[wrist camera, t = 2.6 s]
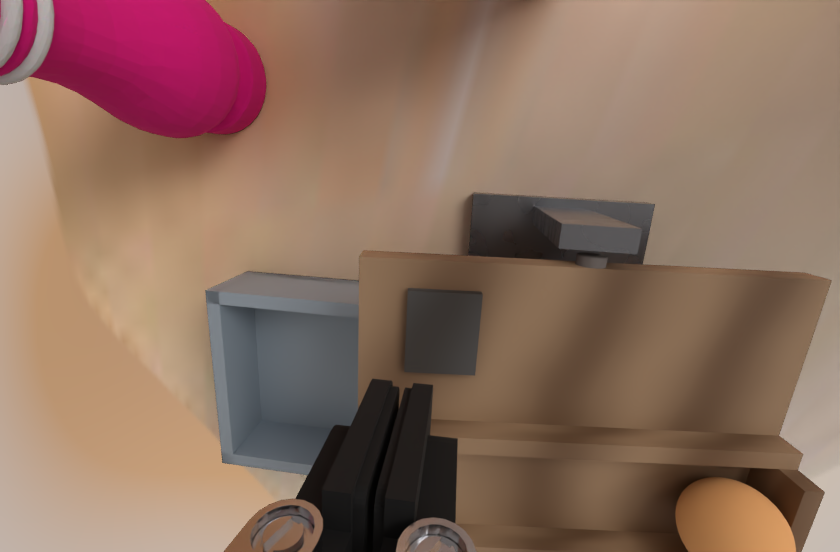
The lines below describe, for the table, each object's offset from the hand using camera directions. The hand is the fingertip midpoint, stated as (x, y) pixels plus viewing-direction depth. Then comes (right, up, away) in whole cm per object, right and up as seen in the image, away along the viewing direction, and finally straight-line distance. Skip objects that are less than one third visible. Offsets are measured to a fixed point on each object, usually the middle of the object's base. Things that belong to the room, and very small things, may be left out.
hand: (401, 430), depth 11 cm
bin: (-5, -2, +18) cm, 18 cm away
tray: (+7, -2, +8) cm, 11 cm away
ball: (+14, -7, +6) cm, 16 cm away
